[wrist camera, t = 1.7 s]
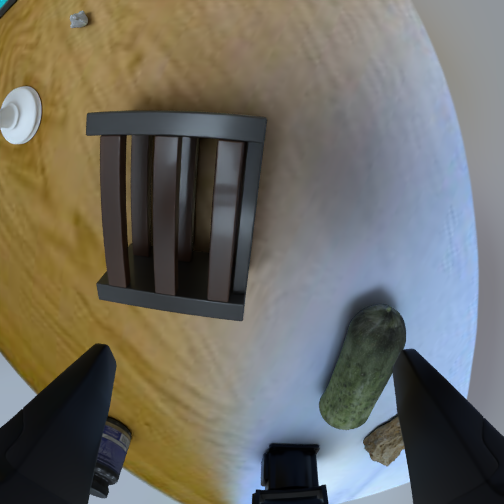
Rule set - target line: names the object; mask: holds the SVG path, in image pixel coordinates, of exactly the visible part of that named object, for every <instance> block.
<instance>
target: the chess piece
mask: <svg viewBox="0 0 504 504" xmlns="http://www.w3.org/2000/svg"><path fill="white" fill-rule="evenodd" d="M41 113H42V108H41V101H40V98H39V95H38V93H37V92H36V91H35V90H34V89H33V88H31V87H29V86H23V87H19V88H16V89H14V90H12V91H11V92H10V93H9V94H8V95H7V97H6V98H5V100H4V102H3V104H2V107H1V109H0V128H1V132H2V134H3V136H4V138H5V139H6V140H7V141H8V142H10V143H12V144H23V143H26V142H28V141H29V140H30V139H31V138H32V137H33V136H34V135H35V133H36V131H37V129H38V127H39V124H40V120H41Z"/></svg>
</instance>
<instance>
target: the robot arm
mask: <svg viewBox="0 0 504 504" xmlns="http://www.w3.org/2000/svg"><path fill="white" fill-rule="evenodd" d="M115 372H116V361H115V358H114V356H113V354H112V352H111V350H110V348H109V346H108V345H106V344H99V343H98V344H95V345H93V346H92V347H91V348H90V349H89V350H88V351H86V352H85V353H84V354H83V355H82V356H81V357H79V358H78V359H77V360H76V361H75V362H74V363H73V364H72V365H70V366H69V367H68V368H67V369H66V370H65V371H64V372H62V373H61V374H60V375H59V376H58V377H57V378H56V379H55V380H53V381H52V382H51V383H50V384H49V385H48V386H47V387H46V388H45V389H43V390H42V391H41V392H40V393H39V394H38V395H37V396H36V397H35V398H34V399H33V400H31V401H30V402H29V403H28V404H27V405H26V406H25V407H24V408H23V409H21V410H20V411H19V412H18V413H17V414H16V415H15V416H14V417H13V418H12V419H10V420H9V421H8V422H7V423H6V424H5V425H3V426H2V427H1V428H0V504H88V500H89V495H90V490H91V485H92V480H93V475H94V470H95V465H96V461H97V456H98V452H99V448H100V443H101V439H102V435H103V431H104V427H105V423H106V420H107V416H108V412H109V408H110V402H111V396H112V389H113V383H114V378H115ZM393 379H394V387H395V395H396V404H397V412H398V418H399V423H400V427H401V432H402V437H403V442H404V448H405V453H406V458H407V464H408V470H409V476H410V483H411V489H412V497H413V504H504V436H502V435H501V434H500V433H499V432H498V431H497V430H496V429H495V428H494V427H493V426H492V425H491V424H490V423H489V422H488V421H487V420H486V419H485V418H483V416H482V415H481V414H480V413H479V412H478V411H477V410H476V409H475V408H474V407H473V406H472V405H471V404H470V403H469V402H468V401H467V400H466V399H465V398H464V397H463V396H462V395H461V394H460V393H459V392H458V391H457V390H456V389H455V388H454V387H453V386H452V385H451V384H450V383H449V382H448V381H447V380H446V379H445V378H444V377H443V376H442V375H441V374H440V373H439V372H438V371H437V370H436V369H435V368H434V367H433V366H432V365H431V364H430V363H429V362H427V361H426V360H425V359H424V358H423V357H422V356H421V355H420V354H419V353H418V352H417V351H416V350H414V349H404V350H402V351H401V352H400V353H399V355H398V357H397V359H396V361H395V363H394V366H393ZM319 449H320V448H319V445H280V444H271V445H270V446H269V448H268V451H267V453H265V454H264V456H263V459H262V462H261V485H262V486H265V490H256V493H254V494H252V504H328V497H327V489H326V485H321V486H319V484H318V472H317V461H316V454H317V452H318V451H319Z"/></svg>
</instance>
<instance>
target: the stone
mask: <svg viewBox="0 0 504 504" xmlns="http://www.w3.org/2000/svg"><path fill="white" fill-rule="evenodd" d="M363 443H364V445H365V448H364V449H366V451H368V452H369V454H370V458H371V459H372V460H373V461H377V462H379V463H381V464H383V465H386V466H388V465H389V464H390V463H391V462H392V461H395V459H396V458H397V457H398V456H399V455H400V452H401V451H402V449H405V448H404V442H403V437H402V432H401V427H400V423H399V418H398V416H397V417H396V418H395V419H393V420H391V422H389V423H387V424H385V425H383V426H380V427H379V428H377V429H376V430H375V431H374V432H373V433H371V434H370V436H367V437H366V438H365V439H364V441H363Z"/></svg>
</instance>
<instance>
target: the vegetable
mask: <svg viewBox="0 0 504 504" xmlns="http://www.w3.org/2000/svg"><path fill="white" fill-rule="evenodd" d="M405 343H406V328H405V323H404V320H403V318H402V316H401V315H400V313H399V312H398V311H397V310H395V309H394V308H392V307H390V306H388V305H384V304H376V305H372V306H369V307H367V308H365V309H363V310H362V311H360V312H359V313H358V314H357V315H356V316H355V317H354V318H353V319H352V321H351V322H350V324H349V328H348V331H347V335H346V338H345V341H344V344H343V347H342V350H341V353H340V355H339V358H338V361H337V363H336V366H335V369H334V371H333V374H332V376H331V379H330V382H329V384H328V386H327V388H326V390H325V392H324V393H323V395H322V397H321V399H320V402H319V408H320V413H321V415H322V417H323V419H324V420H325V421H326V422H327V423H328V424H329V425H331V426H332V427H334V428H337V429H342V430H349V429H354V428H357V427H359V426H361V425H362V424H364V423H365V422H366V421H367V419H368V417H369V415H370V413H371V411H372V409H373V407H374V405H375V403H376V401H377V400H378V398H379V396H380V395H381V393H382V391H383V389H384V387H385V386H386V384H387V382H388V380H389V378H390V377H391V375H392V373H393V366H394V363H395V361H396V359H397V357H398V355H399V353H400V352H401V351H402V350H403V349H404V346H405Z"/></svg>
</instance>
